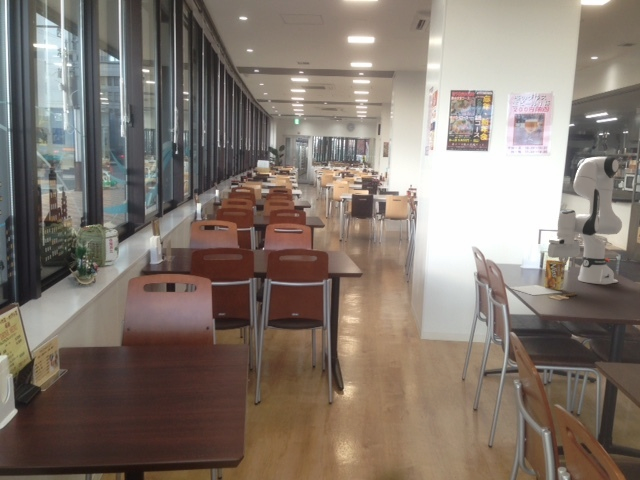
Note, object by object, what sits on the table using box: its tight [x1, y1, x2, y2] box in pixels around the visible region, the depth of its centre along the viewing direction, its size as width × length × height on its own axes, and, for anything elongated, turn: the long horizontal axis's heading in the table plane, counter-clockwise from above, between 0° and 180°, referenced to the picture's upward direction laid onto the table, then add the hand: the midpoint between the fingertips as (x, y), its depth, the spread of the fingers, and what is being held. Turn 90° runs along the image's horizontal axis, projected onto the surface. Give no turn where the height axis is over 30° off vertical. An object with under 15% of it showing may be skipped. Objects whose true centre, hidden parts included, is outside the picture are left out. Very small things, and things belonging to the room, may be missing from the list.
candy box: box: [544, 259, 566, 291], centre depth 317 cm, size 9×4×15 cm, turn 43°
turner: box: [548, 291, 578, 301], centre depth 299 cm, size 18×6×1 cm, turn 124°
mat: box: [508, 284, 563, 296], centre depth 312 cm, size 20×18×1 cm
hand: (563, 265), depth 318 cm, fingers closed
